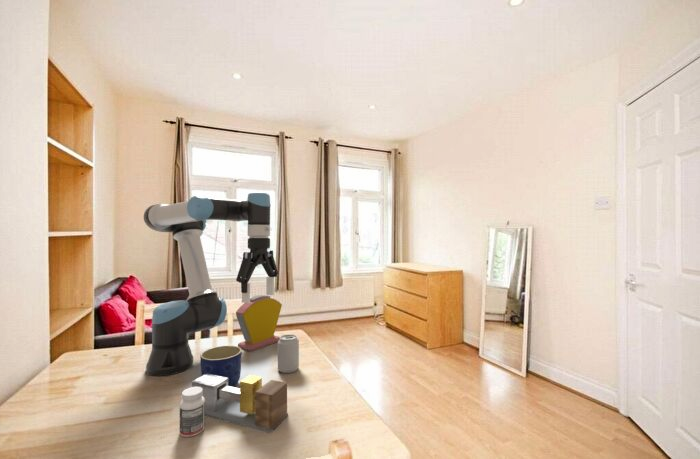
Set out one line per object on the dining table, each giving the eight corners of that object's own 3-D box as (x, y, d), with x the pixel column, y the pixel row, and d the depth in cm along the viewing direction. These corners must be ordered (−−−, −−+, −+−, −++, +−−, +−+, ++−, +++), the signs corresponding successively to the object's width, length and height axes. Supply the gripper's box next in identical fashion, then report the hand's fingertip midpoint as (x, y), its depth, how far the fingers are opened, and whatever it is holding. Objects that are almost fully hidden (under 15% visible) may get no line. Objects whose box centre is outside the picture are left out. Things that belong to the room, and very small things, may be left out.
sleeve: (191, 409, 89) (191, 381, 89) (206, 399, 94) (206, 373, 94) (214, 414, 86) (214, 386, 86) (228, 404, 91) (228, 377, 91)
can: (301, 365, 118) (301, 333, 118) (295, 374, 110) (295, 340, 110) (281, 365, 118) (281, 332, 119) (274, 373, 111) (274, 339, 111)
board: (187, 411, 87) (187, 409, 87) (209, 397, 95) (209, 395, 95) (271, 432, 78) (271, 430, 78) (288, 415, 86) (288, 413, 86)
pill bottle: (185, 424, 82) (185, 385, 82) (208, 423, 82) (208, 384, 82) (175, 438, 76) (175, 397, 76) (199, 437, 76) (199, 396, 76)
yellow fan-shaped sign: (272, 335, 153) (272, 290, 153) (285, 339, 147) (285, 292, 148) (231, 349, 135) (232, 298, 135) (245, 353, 129) (245, 301, 130)
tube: (201, 402, 88) (201, 373, 88) (212, 395, 92) (212, 368, 92) (268, 418, 81) (268, 387, 81) (277, 410, 84) (277, 380, 85)
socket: (254, 427, 80) (254, 391, 80) (270, 412, 87) (270, 379, 87) (272, 431, 79) (272, 395, 79) (287, 416, 85) (287, 382, 85)
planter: (249, 381, 105) (249, 348, 105) (220, 399, 94) (220, 362, 94) (222, 374, 110) (222, 343, 111) (191, 390, 99) (191, 355, 99)
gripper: (244, 237, 97) (244, 307, 96) (287, 237, 120) (287, 292, 120) (224, 237, 99) (224, 305, 99) (270, 236, 123) (270, 291, 122)
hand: (258, 298), depth 109 cm, fingers open, 13 cm apart
